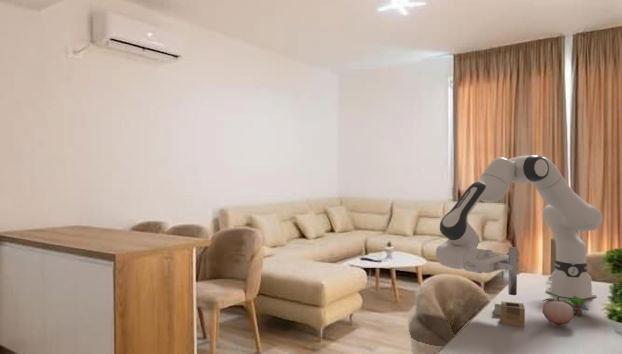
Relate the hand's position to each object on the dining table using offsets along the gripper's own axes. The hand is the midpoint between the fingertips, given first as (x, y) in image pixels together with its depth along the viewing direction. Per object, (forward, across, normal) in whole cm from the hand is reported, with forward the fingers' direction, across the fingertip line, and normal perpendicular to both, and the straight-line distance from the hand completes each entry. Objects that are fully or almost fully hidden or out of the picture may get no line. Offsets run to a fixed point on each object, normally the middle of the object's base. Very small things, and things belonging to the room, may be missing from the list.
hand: (515, 266), depth 148 cm
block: (-7, +8, +19) cm, 22 cm away
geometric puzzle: (+10, +27, +19) cm, 35 cm away
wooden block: (-13, +84, +19) cm, 87 cm away
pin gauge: (-1, 0, +10) cm, 10 cm away
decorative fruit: (+11, +8, +19) cm, 24 cm away
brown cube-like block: (-1, 0, +19) cm, 19 cm away
